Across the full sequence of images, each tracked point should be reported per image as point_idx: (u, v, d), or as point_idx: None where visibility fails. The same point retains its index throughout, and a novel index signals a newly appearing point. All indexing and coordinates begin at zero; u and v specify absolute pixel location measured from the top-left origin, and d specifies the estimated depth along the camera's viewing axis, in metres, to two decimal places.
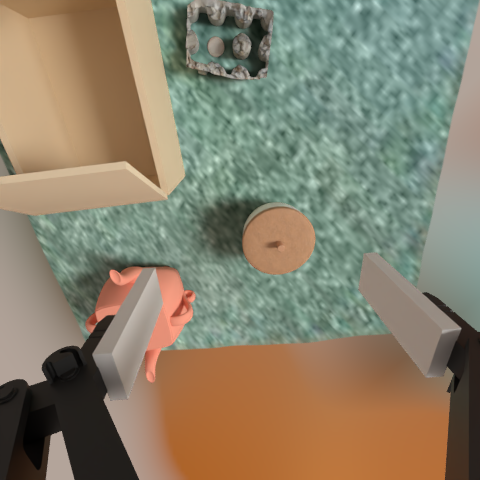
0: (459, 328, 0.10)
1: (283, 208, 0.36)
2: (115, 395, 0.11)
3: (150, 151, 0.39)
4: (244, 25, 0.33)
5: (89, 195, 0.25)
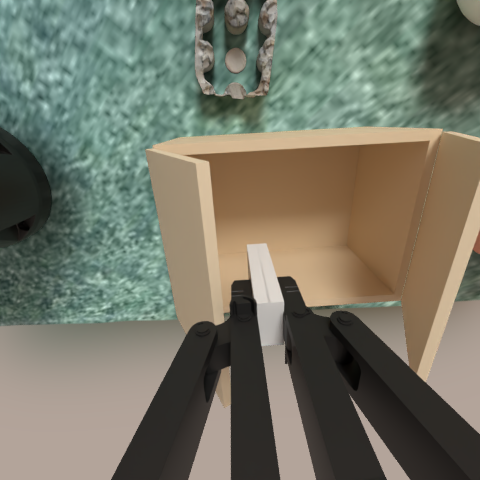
0: (282, 301, 0.12)
1: None
2: (262, 342, 0.13)
3: (329, 167, 0.32)
4: None
5: None
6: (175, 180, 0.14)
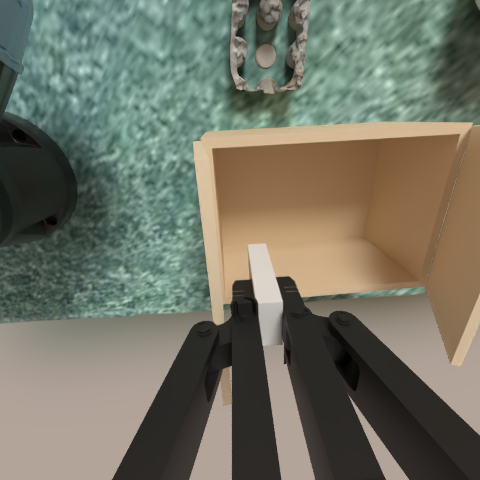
0: (281, 301, 0.12)
1: None
2: (263, 341, 0.13)
3: (350, 160, 0.33)
4: None
5: None
6: None
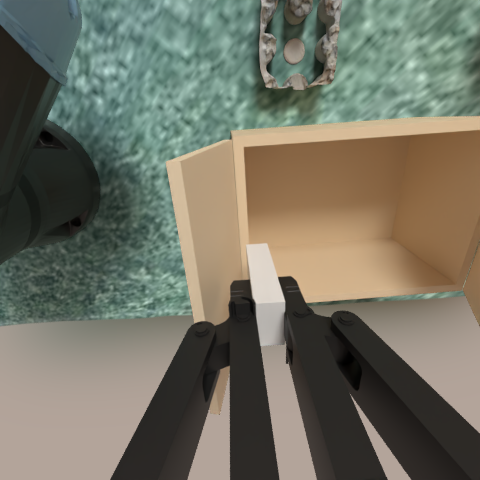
0: (283, 301, 0.12)
1: None
2: (261, 341, 0.13)
3: (379, 158, 0.32)
4: None
5: None
6: None
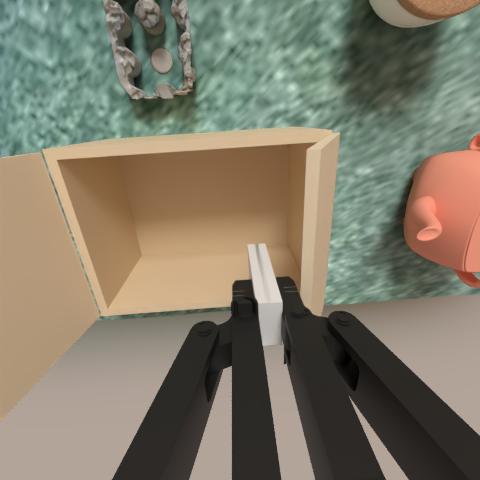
0: (280, 301, 0.12)
1: None
2: (263, 341, 0.13)
3: (261, 167, 0.32)
4: (127, 17, 0.25)
5: (325, 232, 0.18)
6: None
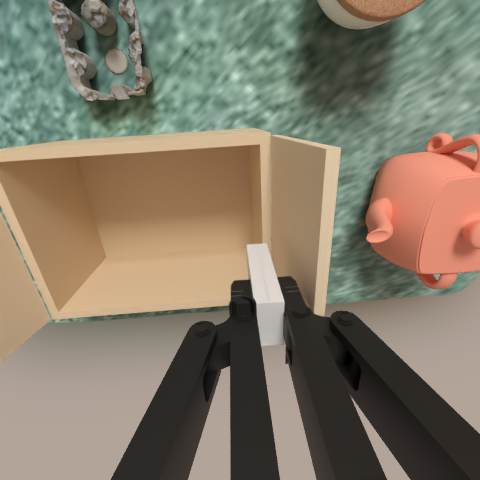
0: (282, 301, 0.12)
1: None
2: (261, 342, 0.13)
3: (221, 168, 0.32)
4: (75, 18, 0.25)
5: None
6: None
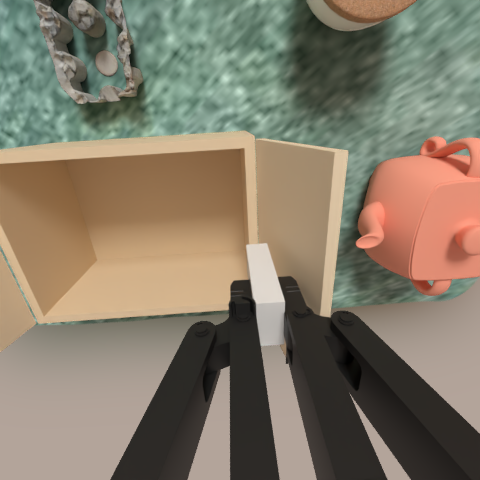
0: (283, 301, 0.12)
1: None
2: (261, 342, 0.13)
3: (212, 171, 0.32)
4: (63, 20, 0.25)
5: None
6: None
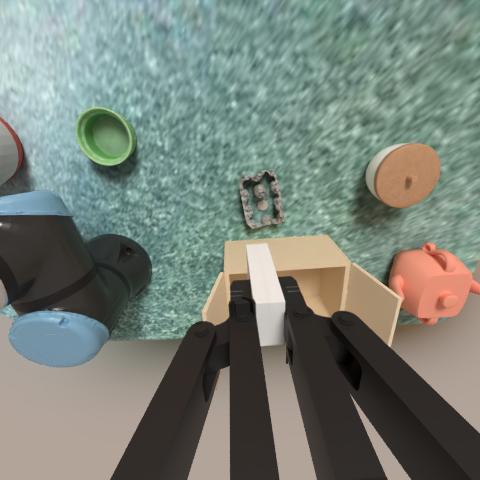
0: (283, 301, 0.12)
1: (378, 174, 0.43)
2: (261, 341, 0.13)
3: None
4: None
5: None
6: None
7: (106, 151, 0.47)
